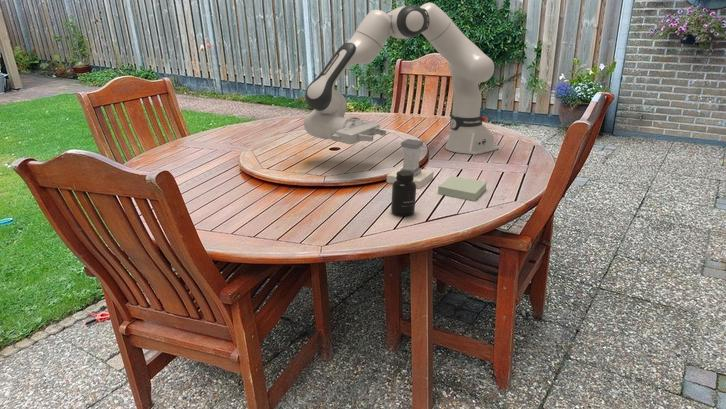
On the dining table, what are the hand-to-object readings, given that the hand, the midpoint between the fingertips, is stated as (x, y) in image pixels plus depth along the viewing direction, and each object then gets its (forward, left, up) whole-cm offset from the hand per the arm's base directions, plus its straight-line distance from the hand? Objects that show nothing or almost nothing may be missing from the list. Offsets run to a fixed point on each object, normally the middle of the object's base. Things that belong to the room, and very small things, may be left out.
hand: (378, 135), depth 167 cm
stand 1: (-7, +10, -14) cm, 19 cm away
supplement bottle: (+9, +33, -14) cm, 37 cm away
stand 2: (-17, +26, -14) cm, 34 cm away
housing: (-7, +10, -11) cm, 17 cm away
